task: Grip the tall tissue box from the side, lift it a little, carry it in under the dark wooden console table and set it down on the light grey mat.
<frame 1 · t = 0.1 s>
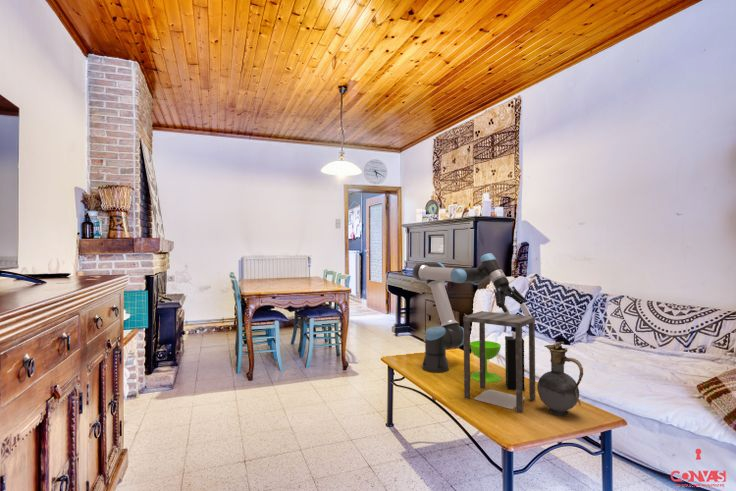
hand: (519, 316, 193), 36 cm above the table, tool tilted 35°, fingers open, 13 cm apart
wineglass: (485, 378, 210), on the table
tissue box: (514, 388, 195), on the table
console: (499, 398, 180), on the table
pitcher: (561, 414, 164), on the table
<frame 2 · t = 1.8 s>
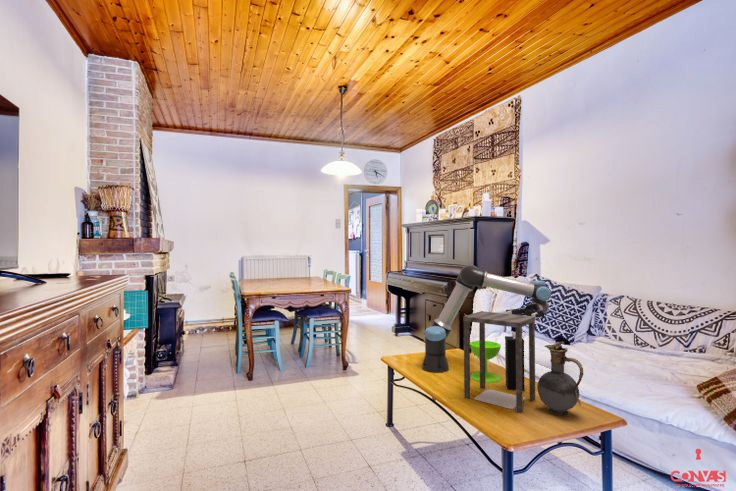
hand: (518, 315, 202), 35 cm above the table, tool horizontal, fingers open, 13 cm apart
nothing on the table moved.
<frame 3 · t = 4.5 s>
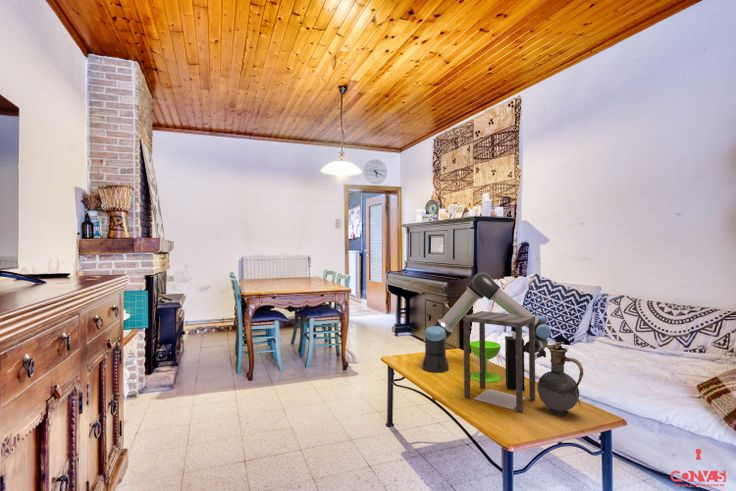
hand: (520, 354, 200), 15 cm above the table, tool horizontal, fingers open, 13 cm apart
nothing on the table moved.
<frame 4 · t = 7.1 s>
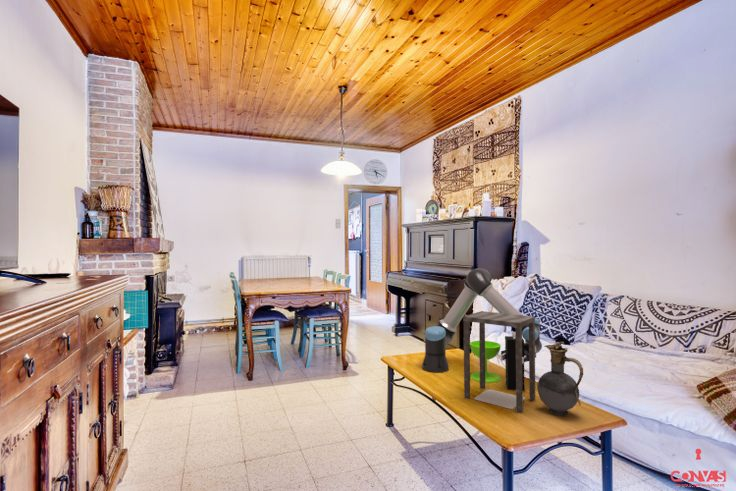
hand: (511, 359, 191), 15 cm above the table, tool horizontal, fingers closed on tissue box, 9 cm apart
tissue box: (514, 388, 195), on the table, touching gripper
everything else where it was.
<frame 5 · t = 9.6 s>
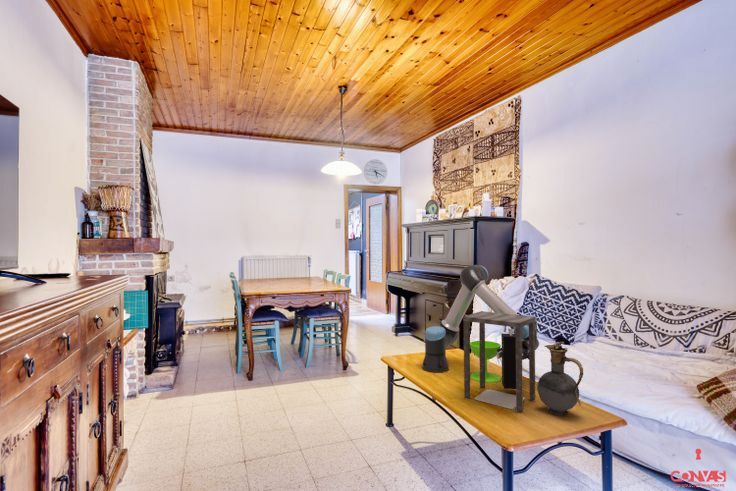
hand: (507, 357, 184), 18 cm above the table, tool horizontal, fingers closed on tissue box, 9 cm apart
tissue box: (511, 387, 188), point 3 cm above the table, touching gripper
everything else where it was.
when the fingers open (17 cm above the table, at t = 12.5 s): tissue box drops 1 cm, resting on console.
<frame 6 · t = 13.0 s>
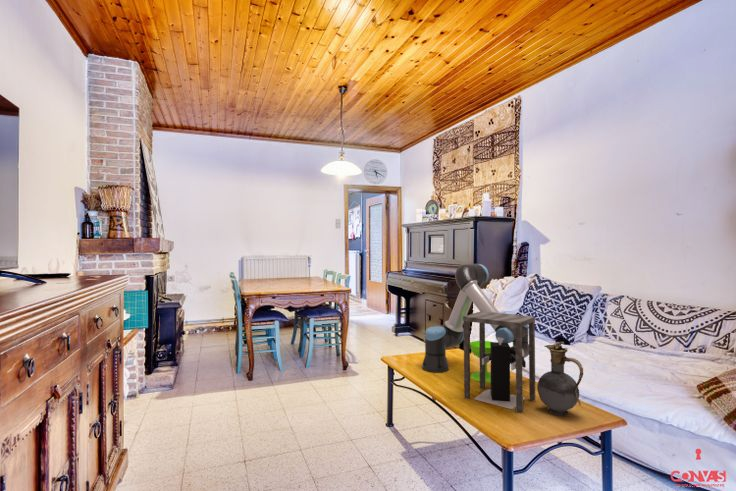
hand: (496, 364, 178), 17 cm above the table, tool horizontal, fingers open, 13 cm apart
tissue box: (500, 398, 180), resting on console
everything else where it was.
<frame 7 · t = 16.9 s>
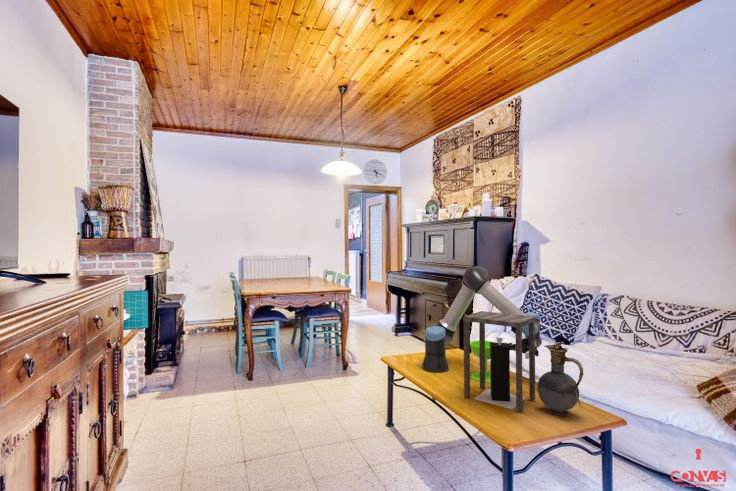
hand: (511, 353, 191), 18 cm above the table, tool horizontal, fingers open, 13 cm apart
nothing on the table moved.
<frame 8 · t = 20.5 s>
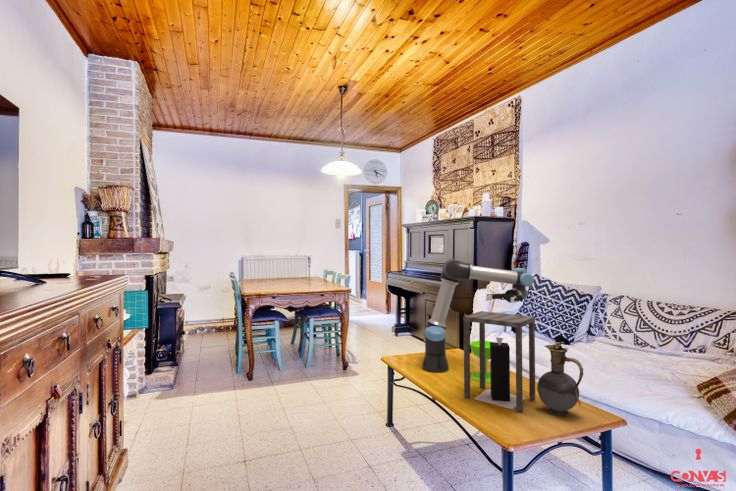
hand: (498, 299, 211), 42 cm above the table, tool horizontal, fingers open, 13 cm apart
nothing on the table moved.
at the end: tissue box inside the target area on the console (0.2 cm from its centre), point 0.2 cm above the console's base; tissue box tilted 0°; the gripper is holding nothing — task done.
